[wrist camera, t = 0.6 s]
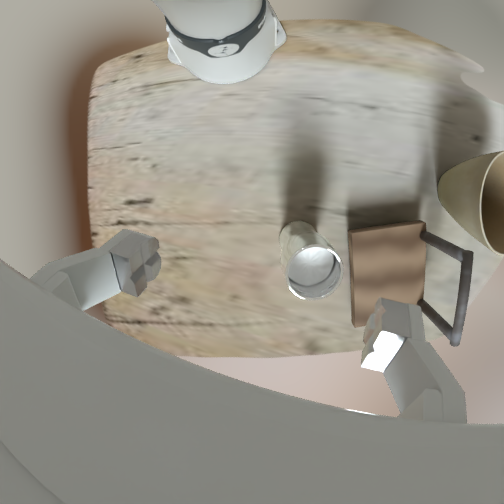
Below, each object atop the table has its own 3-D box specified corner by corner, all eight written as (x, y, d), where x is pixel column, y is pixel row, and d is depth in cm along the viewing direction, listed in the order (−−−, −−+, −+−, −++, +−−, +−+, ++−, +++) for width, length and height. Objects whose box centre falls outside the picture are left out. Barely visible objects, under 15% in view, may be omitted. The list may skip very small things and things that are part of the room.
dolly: (343, 226, 45) (386, 261, 28) (414, 217, 44) (476, 243, 27) (347, 315, 49) (379, 376, 33) (412, 301, 48) (459, 351, 32)
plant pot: (443, 246, 45) (497, 277, 30) (406, 180, 42) (464, 190, 27) (488, 200, 42) (544, 215, 27) (457, 134, 39) (516, 131, 24)
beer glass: (283, 266, 47) (292, 309, 33) (270, 225, 45) (275, 253, 31) (324, 253, 46) (350, 291, 32) (313, 212, 44) (337, 234, 30)
